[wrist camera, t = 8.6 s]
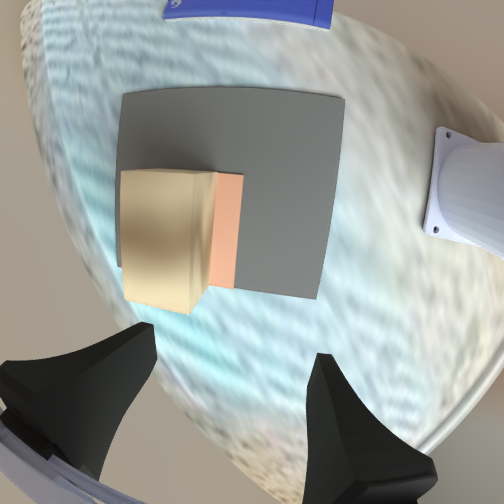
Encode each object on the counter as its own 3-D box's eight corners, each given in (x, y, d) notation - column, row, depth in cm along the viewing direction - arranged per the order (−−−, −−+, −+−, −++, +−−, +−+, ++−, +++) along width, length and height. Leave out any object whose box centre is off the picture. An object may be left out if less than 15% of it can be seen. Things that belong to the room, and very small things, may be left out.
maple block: (209, 284, 20) (188, 314, 16) (154, 274, 20) (124, 299, 16) (217, 172, 17) (194, 174, 13) (156, 168, 18) (120, 171, 14)
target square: (243, 175, 18) (243, 175, 17) (233, 287, 20) (233, 288, 20) (137, 168, 18) (135, 169, 18) (137, 270, 21) (135, 271, 21)
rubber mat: (344, 100, 15) (344, 99, 15) (315, 297, 20) (316, 299, 19) (126, 94, 17) (123, 93, 17) (119, 265, 21) (117, 266, 21)
